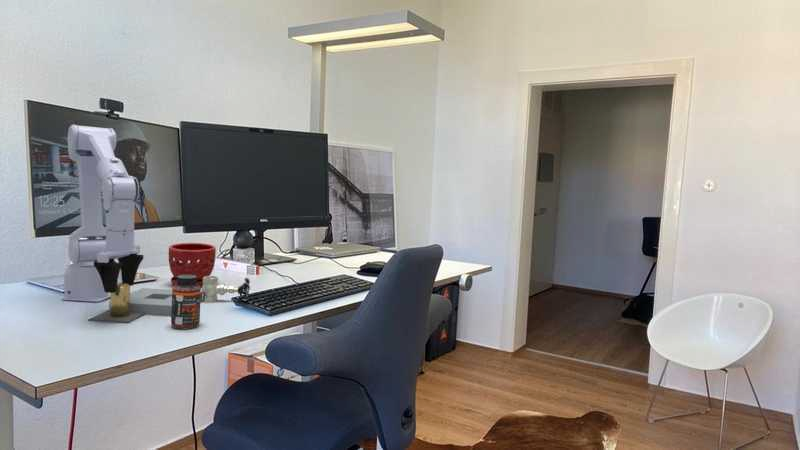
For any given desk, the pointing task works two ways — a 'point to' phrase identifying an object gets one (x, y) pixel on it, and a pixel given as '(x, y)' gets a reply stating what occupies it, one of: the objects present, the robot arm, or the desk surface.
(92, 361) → the desk surface
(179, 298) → the supplement bottle
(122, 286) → the brass cover
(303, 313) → the desk surface
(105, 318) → the rubber mat
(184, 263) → the plant pot
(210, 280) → the valve
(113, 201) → the robot arm
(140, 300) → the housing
